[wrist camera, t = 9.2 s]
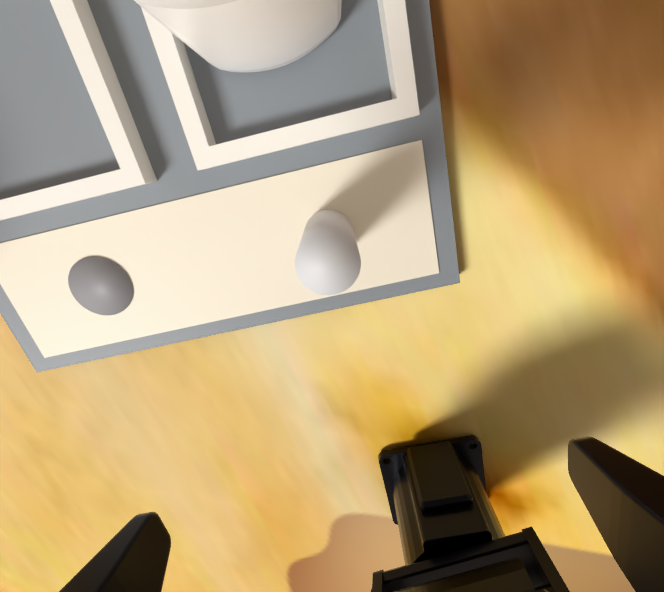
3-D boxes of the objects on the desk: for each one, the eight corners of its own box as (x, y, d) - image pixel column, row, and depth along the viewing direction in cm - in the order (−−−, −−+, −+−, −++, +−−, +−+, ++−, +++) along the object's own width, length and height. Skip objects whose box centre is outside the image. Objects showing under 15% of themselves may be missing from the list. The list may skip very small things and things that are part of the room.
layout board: (455, 277, 20) (502, 327, 14) (46, 364, 22) (-48, 437, 16) (402, -184, 13) (451, -411, 8) (-173, 0, 15) (-449, -81, 10)
